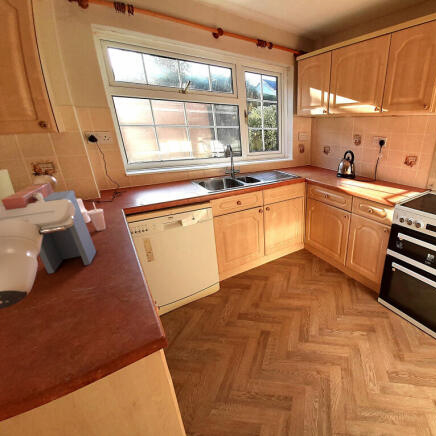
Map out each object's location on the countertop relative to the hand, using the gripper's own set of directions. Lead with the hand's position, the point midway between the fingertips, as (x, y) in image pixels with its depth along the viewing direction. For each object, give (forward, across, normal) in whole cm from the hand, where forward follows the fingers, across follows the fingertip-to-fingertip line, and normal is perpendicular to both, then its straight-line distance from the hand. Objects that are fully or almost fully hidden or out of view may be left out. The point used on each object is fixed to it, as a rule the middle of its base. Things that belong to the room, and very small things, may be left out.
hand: (25, 196), depth 62 cm
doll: (+4, 0, +4) cm, 6 cm away
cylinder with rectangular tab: (+49, +14, +65) cm, 83 cm away
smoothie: (+34, +2, +56) cm, 66 cm away
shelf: (+6, +5, +40) cm, 41 cm away
